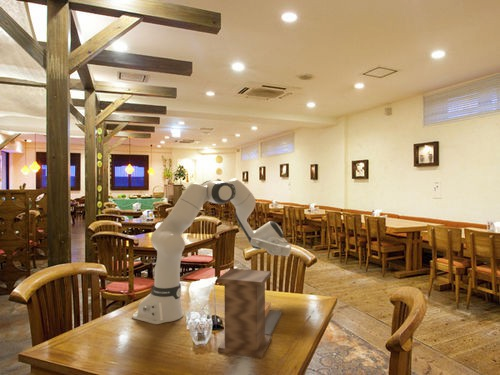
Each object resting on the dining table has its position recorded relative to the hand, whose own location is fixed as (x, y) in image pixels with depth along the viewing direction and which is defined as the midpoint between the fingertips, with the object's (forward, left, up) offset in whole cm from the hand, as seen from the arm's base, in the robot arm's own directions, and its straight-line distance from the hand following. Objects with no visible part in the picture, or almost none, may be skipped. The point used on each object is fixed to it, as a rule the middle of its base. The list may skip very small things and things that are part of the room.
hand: (266, 246), depth 155 cm
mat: (+1, -15, -30) cm, 33 cm away
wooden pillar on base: (+1, -36, -30) cm, 46 cm away
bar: (+1, -12, -29) cm, 31 cm away
